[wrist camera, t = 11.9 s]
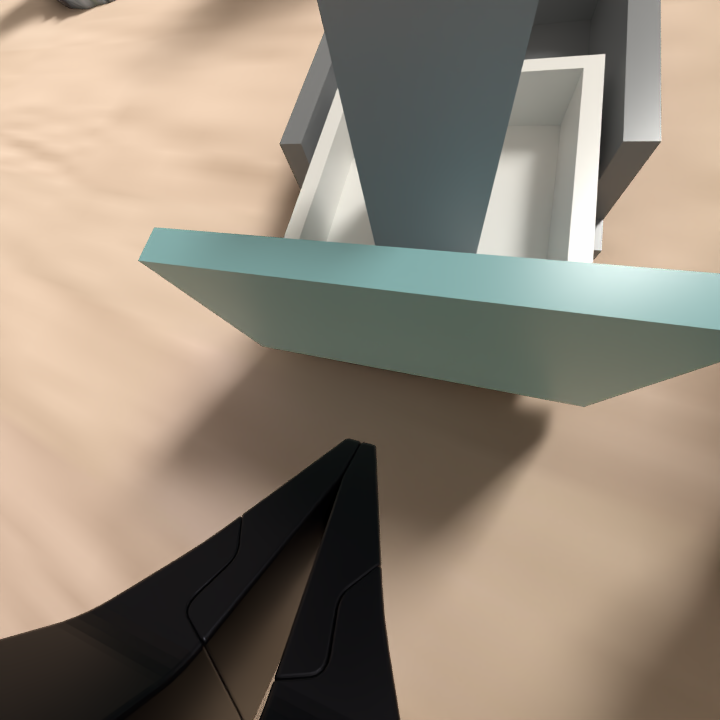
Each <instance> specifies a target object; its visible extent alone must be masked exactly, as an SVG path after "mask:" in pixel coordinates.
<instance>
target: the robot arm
mask: <svg viewBox="0 0 720 720" xmlns="http://www.w3.org/2000/svg"><path fill="white" fill-rule="evenodd" d="M279 662H280V663H279ZM278 664H279V666H278ZM277 666H278V669H277ZM276 669H277V672H276V675H275V681H274V682H273V684H272V687H271V690H270V693H269V695H268V698H267V701H266V704H265V706H264V709H263V711H262V714H261V716H260V719H259V720H400V715H399V709H398V702H397V696H396V690H395V684H394V677H393V671H392V665H391V659H390V652H389V645H388V638H387V630H386V623H385V614H384V601H383V588H382V569H381V547H380V525H379V502H378V480H377V457H376V446H375V445H372V444H368V443H364V442H363V443H361V442H360V441H357V440H353V439H345V440H344V441H343V442H341V443H340V444H339V445H337V446H336V447H334V448H333V449H332V450H330V451H329V452H328V453H326V454H325V455H323V456H322V457H321V458H319V459H318V460H317V461H315V462H314V463H313V464H311V465H310V466H308V467H307V468H306V469H304V470H303V471H302V472H300V473H299V474H297V475H296V476H295V477H293V478H292V479H291V480H289V481H288V482H287V483H285V484H284V485H282V486H281V487H280V488H278V489H277V490H276V491H274V492H273V493H271V494H270V495H269V496H267V497H266V498H265V499H263V500H262V501H261V502H259V503H258V504H256V505H255V506H254V507H252V508H251V509H250V510H248V511H247V512H245V513H244V514H243V515H242V517H238V518H237V519H236V520H234V521H233V522H232V523H230V524H229V525H227V526H226V527H225V528H223V529H222V530H220V531H219V532H217V533H216V534H215V535H213V536H212V537H210V538H209V539H207V540H206V541H205V542H203V543H201V544H200V545H198V546H197V547H195V548H194V549H192V550H190V551H189V552H187V553H186V554H184V555H183V556H181V557H179V558H178V559H176V560H175V561H173V562H171V563H170V564H168V565H166V566H165V567H163V568H161V569H160V570H158V571H157V572H155V573H153V574H152V575H150V576H148V577H147V578H145V579H143V580H142V581H140V582H138V583H137V584H135V585H134V586H132V587H130V588H129V589H127V590H125V591H124V592H122V593H120V594H119V595H117V596H115V597H114V598H112V599H110V600H109V601H107V602H105V603H103V604H102V605H100V606H98V607H96V608H94V609H92V610H90V611H88V612H85V613H83V614H81V615H79V616H76V617H74V618H71V619H68V620H66V621H63V622H60V623H56V624H53V625H50V626H46V627H42V628H39V629H35V630H32V631H28V632H25V633H21V634H18V635H14V636H10V637H7V638H3V639H0V720H253V719H254V717H255V715H256V713H257V711H258V708H259V706H260V704H261V702H262V699H263V697H264V695H265V693H266V691H267V688H268V686H269V684H270V682H271V680H272V677H273V675H274V673H275V671H276Z"/></svg>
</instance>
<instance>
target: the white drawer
mask: <svg viewBox="0 0 720 720" xmlns="http://www.w3.org/2000/svg"><path fill="white" fill-rule="evenodd" d="M604 69H605V54H598V55H584V56H570V57H555V58H541V59H527V60H524V62H523V66H522V70H521V74H520V79H519V83H518V87H517V91H516V95H515V99H514V103H513V107H512V111H511V115H510V119H509V123H508V127H507V131H506V135H505V139H504V143H503V148H502V152H501V156H500V160H499V164H498V168H497V172H496V176H495V180H494V184H493V188H492V192H491V196H490V200H489V204H488V208H487V212H486V216H485V221H484V225H483V229H482V233H481V237H480V241H479V245H478V249H477V253H476V254H474V253H461V252H449V251H437V250H425V249H412V248H400V247H388V246H376V245H375V243H374V239H373V234H372V230H371V226H370V222H369V217H368V213H367V209H366V205H365V201H364V196H363V192H362V188H361V184H360V179H359V175H358V171H357V167H356V163H355V158H354V154H353V150H352V146H351V141H350V137H349V133H348V129H347V125H346V120H345V116H344V112H343V108H342V103H341V99H340V95H339V91H338V88H337V91H336V94H335V97H334V99H333V102H332V105H331V108H330V110H329V113H328V116H327V119H326V122H325V124H324V127H323V130H322V133H321V135H320V138H319V141H318V144H317V147H316V149H315V152H314V155H313V158H312V160H311V163H310V166H309V169H308V172H307V174H306V177H305V180H304V183H303V185H302V188H301V191H300V194H299V197H298V199H297V202H296V205H295V208H294V210H293V213H292V216H291V219H290V222H289V224H288V227H287V230H286V233H285V235H284V238H278V237H265V236H253V235H241V234H229V233H216V232H204V231H192V230H180V229H167V228H155V227H154V229H153V231H152V233H151V235H150V237H149V239H148V242H147V244H146V246H145V248H144V250H143V252H142V254H141V256H140V258H139V260H138V261H140V262H141V263H142V264H144V265H145V266H147V267H148V268H150V269H151V270H153V271H154V272H156V273H157V274H158V275H160V276H161V277H163V278H164V279H166V280H167V281H169V282H170V283H171V284H173V285H174V286H176V287H177V288H179V289H180V290H182V291H183V292H184V293H186V294H187V295H189V296H190V297H192V298H193V299H195V300H196V301H198V302H199V303H200V304H202V305H203V306H205V307H206V308H208V309H209V310H211V311H212V312H213V313H215V314H216V315H218V316H219V317H221V318H222V319H224V320H225V321H226V322H228V323H229V324H231V325H232V326H234V327H235V328H237V329H238V330H240V331H241V332H242V333H244V334H245V335H247V336H248V337H250V338H251V339H253V340H254V341H255V342H257V343H258V344H260V345H261V346H263V347H268V348H274V349H279V350H284V351H289V352H295V353H300V354H305V355H311V356H316V357H321V358H327V359H332V360H337V361H343V362H348V363H353V364H359V365H364V366H369V367H375V368H380V369H385V370H391V371H396V372H401V373H407V374H412V375H417V376H423V377H428V378H433V379H439V380H444V381H449V382H455V383H460V384H465V385H471V386H476V387H481V388H487V389H492V390H497V391H503V392H508V393H513V394H519V395H524V396H529V397H534V398H540V399H545V400H550V401H556V402H561V403H566V404H572V405H577V406H582V407H585V406H588V405H591V404H594V403H597V402H600V401H603V400H606V399H609V398H612V397H615V396H618V395H621V394H624V393H627V392H630V391H633V390H636V389H640V388H643V387H646V386H649V385H652V384H655V383H658V382H661V381H664V380H667V379H670V378H673V377H676V376H679V375H682V374H685V373H688V372H691V371H694V370H697V369H700V368H703V367H706V366H709V365H712V364H715V363H718V362H720V274H719V273H706V272H694V271H682V270H670V269H657V268H645V267H633V266H621V265H608V264H596V263H593V253H594V236H595V219H596V203H597V186H598V169H599V153H600V136H601V119H602V103H603V86H604Z"/></svg>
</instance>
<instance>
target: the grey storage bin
mask: <svg viewBox="0 0 720 720" xmlns="http://www.w3.org/2000/svg"><path fill="white" fill-rule="evenodd" d="M598 54H605V69H604V86H603V103H602V119H601V136H600V153H599V169H598V186H597V203H596V219H595V236H594V253H593V260H594V259H595V258H596V257H597V255H598V254H599V253H600V252H601V251H602V233H603V219H604V218H605V216H606V215H607V214H608V212H609V211H610V210H611V208H612V207H613V206H614V204H615V203H616V201H617V200H618V199H619V197H620V196H621V195H622V193H623V192H624V191H625V189H626V188H627V187H628V185H629V184H630V183H631V181H632V180H633V179H634V177H635V176H636V174H637V173H638V172H639V170H640V169H641V168H642V166H643V165H644V164H645V162H646V161H647V160H648V158H649V157H650V156H651V154H652V153H653V152H654V150H655V149H656V147H657V146H658V145H659V143H660V142H661V0H539V1H538V6H537V10H536V14H535V18H534V22H533V26H532V30H531V34H530V38H529V42H528V46H527V50H526V54H525V58H524V60H527V59H541V58H555V57H570V56H584V55H598ZM337 88H338V87H337V82H336V78H335V74H334V70H333V65H332V61H331V57H330V53H329V49H328V44H327V40H326V36H325V32H324V34H323V37H322V39H321V42H320V44H319V47H318V49H317V52H316V54H315V57H314V59H313V62H312V64H311V67H310V69H309V72H308V74H307V77H306V79H305V82H304V84H303V87H302V89H301V92H300V94H299V97H298V99H297V102H296V104H295V107H294V109H293V112H292V114H291V117H290V119H289V122H288V124H287V127H286V129H285V132H284V134H283V137H282V139H281V142H280V146H281V148H282V150H283V152H284V154H285V157H286V159H287V161H288V163H289V165H290V167H291V170H292V172H293V174H294V176H295V178H296V180H297V183H298V185H299V187H300V189H301V188H302V185H303V183H304V180H305V177H306V174H307V172H308V169H309V166H310V163H311V160H312V158H313V155H314V152H315V149H316V147H317V144H318V141H319V138H320V135H321V133H322V130H323V127H324V124H325V122H326V119H327V116H328V113H329V110H330V108H331V105H332V102H333V99H334V97H335V94H336V91H337Z"/></svg>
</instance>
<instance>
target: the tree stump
mask: <svg viewBox="0 0 720 720" xmlns="http://www.w3.org/2000/svg"><path fill="white" fill-rule="evenodd" d="M57 1H59V2H61V3H62V4H64V5H65V6H67V7H68V8H78V9H89V8H91V7H94V6H97V5H100V4H106V3H109V2H113V1H115V0H57Z"/></svg>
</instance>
